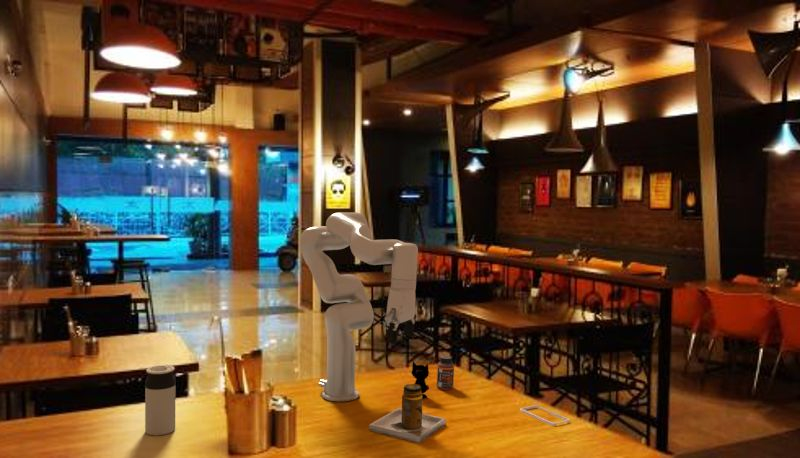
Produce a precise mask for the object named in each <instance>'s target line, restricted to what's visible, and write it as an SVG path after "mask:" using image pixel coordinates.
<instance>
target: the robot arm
mask: <svg viewBox="0 0 800 458" xmlns="http://www.w3.org/2000/svg"><path fill="white" fill-rule="evenodd" d="M302 231H303V232H302V233H301V235H300V239H299V249H300V253H301V256H302V258H303V260H304V262H305V264H306V265H307V267H308V268H309V269H308V270H310V273H311V275H312V279H313V281H314V283H315V286H316V289H317V292H318V294H319V296H320V298H321V300H322V301H323V302H324V303H325V304H333V305H331V306H329V307H328V308H327V309H326V311H325V313H324V323H325V330H326V331H325V332H326V346H327V347H326V348H327V349H326V350H327V351H326V354H327V355H326V360H327V361H326V379H323V378H321V379H320V380H319V382H318V383H317V386H318V387H321V388H323V391H321V397H322V398H323V399H324V400H326V401H330V402H340V403H341V402H351V401H354V400H356V399H357V398H359V397H360V391H359V390H357V389H356V388H355V385H356V383H355V382H356V377H355V376H356V374H355V373H356V342H355V339H354V338H353V335H352V334H351V332H352V331H357V330H362V329H366V328H369V327H371V325H372V324H373V323H374V317H375V313H374V310H373V307H372V304H371V302H370V301H371V300H370V299H369V297H368V294H367V291H366V289H365V286H364V284H363V283H362V281H361V279H360V278H359V277H358V276H357V275H356V274H349V273H348V274H345V273H344V274H340V273H339V272H338V271H337V268H336V265H335V263H334V261H333V259H331V258H330V256H328V255H327V254H326V253H325V252H324V251H334V250H335V251H337V250H342V249H343V250H344V249H345V248H347V247H350V248H349V249H350V250H351V251H350V252H351V253H352V255H353V256H354V257H355V258H356V259H358V260H360V261H361V262H363V263H366V264H368V265H370V266H372V265H373V266H377V265H378V266H379V265H390V264H391V281H390V290H389V293H388V298H387V304H386V315H385V317H384V320H385V327H386V331H387V335H386V342H387V343H388V344H389V343H390V344H393V345H396V344H397V343H398V330H397V329H398V327H399V325H400V324H403V336H404V337H408V338H413V337H414V331H415V330H414V328H415V327H414V325H415V323H416V317H417V312H418V308H417V306H416V289H417V287H416V286H417V273H418V255H419V248H418V246H417V244H415V243H410V242H404V241H402V240H399V239H393V238H392V239H391V238H390V239H371V235H372V233H371V232H372V231H371V229H370V227H369V224H368V220H367V218H366V217H365V216H364V215H363V214H362V213H360V212H343V211H342V212H341V211H340V212H335V213H332V214H331V215H329V216H328V218H327V219H326V222H325V226H324V225H321V226H320V225H319V226H312V227H308V228H305V230H302ZM335 303H336V304H335Z"/></svg>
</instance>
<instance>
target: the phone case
mask: <svg viewBox="0 0 800 458" xmlns="http://www.w3.org/2000/svg"><path fill="white" fill-rule="evenodd" d="M532 409H539V410H541V409H542V410H544V411H546V412H548V414H550V415H552V416H553V417H556V418H559V419H561V421H557V422H551V421H549V420H547V419H546V418H543V417H540V416H539V415H536V414H534V413H532V412H531V411H528V410H532ZM519 410H520V412H522V413H523V414H525V415H528V416H530V417H532V418H534V419H537V420H539V421H540V422H543V423H545V424H546V425H548V426H551V427H556V426H557V425H558V424H562V423H566V424H568V423H569V424H570V421H571V420H570V419H569V418H568V417H565V416H563V415H561V414H558V413H556V412H554V411H551V410H549V409H547V408H544V407H543V406H540V405H537V404H534V405H529V406H525V407H520V409H519Z"/></svg>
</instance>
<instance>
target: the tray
mask: <svg viewBox="0 0 800 458" xmlns="http://www.w3.org/2000/svg"><path fill="white" fill-rule="evenodd" d="M446 420H447V419H446V417H445V418H444V417H440V416H435V415H430V414H427V413H423V412H422V425H424V426H426V427H427V428H424V429H420V430H416V431H411V432H403V431H399V430H398V429H396V428H394V427H393V426H391V425H390V424H396V423H399V422H401V421H402V408H400V407H398V408H396V409H393V410H392V411H390V412H389V413H387V414H386V415H384V416H382V417H380V418H379V419H377V420H374V421H373V422H371V423H370V424H369V425H368V426H369V432H373V433H377V434H382V435H385V436H388V437H389V436H390V437H393V438H397V439H402V440H405V441H410V442H414V443H417V444H421V443H423V442H424V441H425V440H426V439H428V438H429V437H430V436H432V435H433V434H434V433H436V432H437V431H439V430H440V429H442V428H443V427H444V426H446V425H447V424H446V423H447V422H446Z"/></svg>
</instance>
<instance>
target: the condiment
mask: <svg viewBox="0 0 800 458" xmlns="http://www.w3.org/2000/svg"><path fill="white" fill-rule="evenodd" d="M421 389H422V388H421V386H419V385H416V384H414V383H410V384H405V385H404V386H403V394H402V396H401V409H402V421H401V422H399V423H396V424H390V425H391V426H393V427H394V428H396V429H398V430H399V431H403V432H411V431H416V430H420V429H424V428H427V427H426V426H424V425H422V413H423V400H424V399H422V395H421Z"/></svg>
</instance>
